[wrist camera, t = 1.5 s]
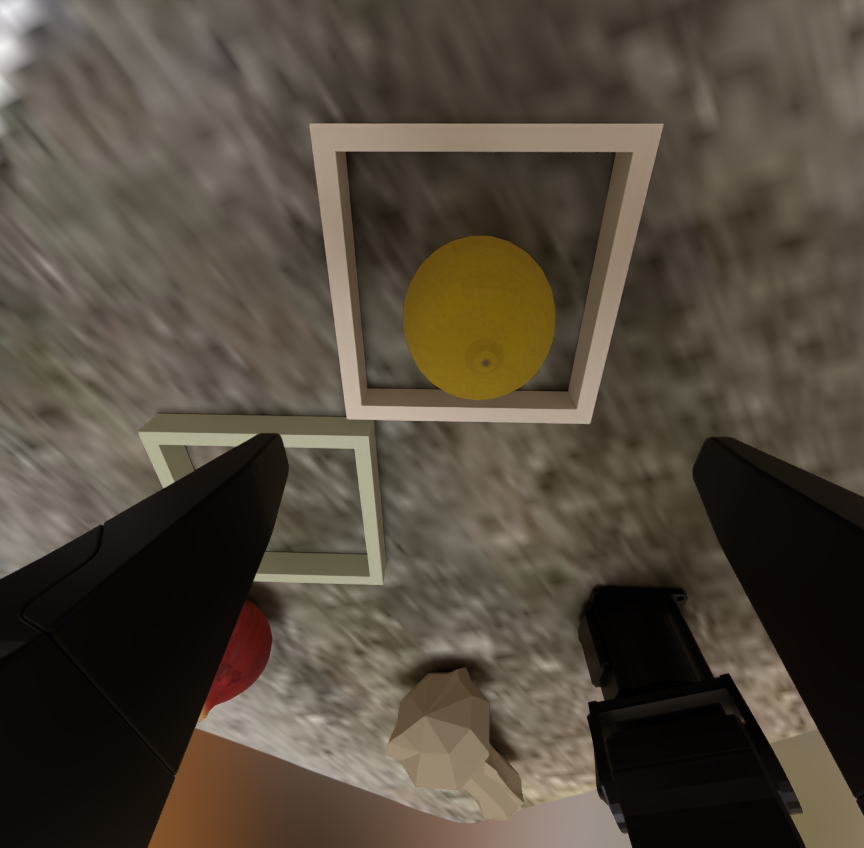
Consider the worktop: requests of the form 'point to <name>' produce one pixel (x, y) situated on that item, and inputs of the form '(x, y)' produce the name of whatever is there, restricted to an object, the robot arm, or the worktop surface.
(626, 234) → the bin
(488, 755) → the faceted club
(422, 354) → the lemon
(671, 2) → the worktop surface
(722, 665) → the worktop surface
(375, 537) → the bin
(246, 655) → the onion
